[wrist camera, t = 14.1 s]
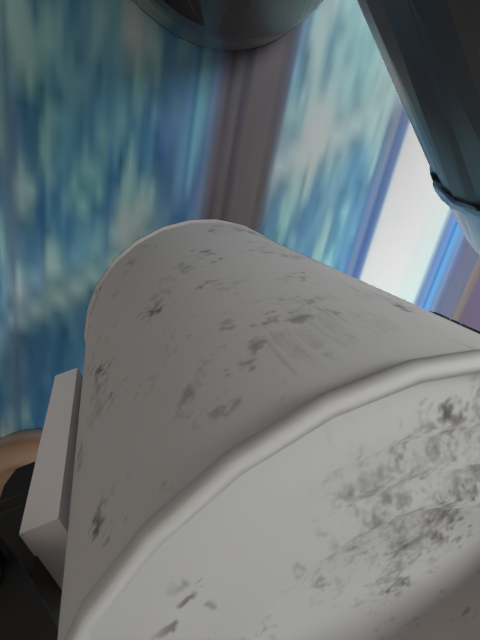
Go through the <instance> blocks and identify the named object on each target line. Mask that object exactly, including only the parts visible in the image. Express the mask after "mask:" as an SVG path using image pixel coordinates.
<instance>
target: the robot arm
mask: <svg viewBox="0 0 480 640" xmlns="http://www.w3.org/2000/svg"><path fill="white" fill-rule="evenodd" d="M134 1H135V2H136V4H137V5H138V6H139V7H140V8H141V9H142V10H143V11H144V12H146V13H147V14H148V15H149V16H150V17H151V18H152V19H154V20H155V21H156V22H157V23H159V24H160V25H161V26H163V27H164V28H166V29H167V30H168V31H170V32H172V33H173V34H175V35H177V36H179V37H181V38H183V39H185V40H187V41H189V42H191V43H194V44H196V45H200V46H203V47H206V48H211V49H216V50H225V51H238V50H247V49H252V48H256V47H259V46H262V45H265V44H268V43H270V42H272V41H274V40H276V39H278V38H279V37H281V36H283V35H284V34H286V33H287V32H288V31H290V30H291V29H293V28H294V27H295V26H297V25H298V24H299V23H301V22H302V21H303V20H305V19H306V18H307V17H308V16H309V15H310V14H311V13H312V12H313V11H314V10H315V9H316V8H317V7H318V6H319V5H320V4H321V3H322V1H323V0H134ZM357 1H358V4H359V6H360V8H361V10H362V13H363V15H364V17H365V20H366V22H367V24H368V26H369V29H370V31H371V33H372V35H373V38H374V40H375V42H376V45H377V47H378V49H379V51H380V54H381V56H382V58H383V60H384V63H385V65H386V67H387V70H388V72H389V74H390V76H391V79H392V81H393V83H394V85H395V88H396V90H397V92H398V95H399V97H400V99H401V101H402V104H403V106H404V108H405V110H406V113H407V115H408V117H409V120H410V122H411V124H412V126H413V129H414V131H415V133H416V136H417V138H418V140H419V142H420V145H421V147H422V149H423V151H424V154H425V156H426V158H427V161H428V163H429V165H430V175H431V177H432V180H433V187H434V189H435V191H436V193H437V194H438V196H439V197H440V198H441V200H442V201H444V202H445V203H446V204H447V205H448V206H449V207H450V209H451V211H452V213H453V215H454V216H455V218H456V220H457V222H458V224H459V226H460V228H461V230H462V232H463V234H464V236H465V237H466V239H467V241H468V242H469V243H470V245H471V246H472V247H473V249H474V250H475V251H476V252H477V253H478V254H479V255H480V0H357ZM429 312H431V311H429ZM432 313H434V314H436V315H438V316H441V317H443V318H445V319H447V320H449V321H452V322H454V323H456V324H458V325H461V324H460V323H459V322H457V321H454V320H450V319H449V318H448V317H445V316H443V315H441V314H438V313H436V312H432ZM461 326H463V327H465V328H467V329H469V330H472V331H474V332H476V333H478V334H480V332H479V331H477V330H475V329H472V328H470V327H468V326H465V325H463V324H462V325H461ZM82 380H83V378H82V376H81V374H80V372H79V370H78V368H75V369H72V370H69V371H67V372H64V373H61V374H58V375H55V379H54V383H53V388H52V392H51V396H50V401H49V405H48V409H47V414H46V418H45V423H44V427H43V431H42V436H41V440H40V445H39V449H38V453H37V458H36V461H35V462H32V463H30V464H27V465H25V466H22V467H20V468H17V469H16V470H15V471H14V472H13V474H12V475H11V476H10V478H9V479H8V481H7V482H6V483H5V485H4V487H3V490H2V493H1V497H0V640H57V638H58V627H59V617H60V607H61V596H62V586H63V576H64V565H65V555H66V545H67V534H68V524H69V514H70V503H71V493H72V483H73V472H74V462H75V452H76V441H77V431H78V421H79V410H80V400H81V390H82Z"/></svg>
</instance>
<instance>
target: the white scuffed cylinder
mask: <svg viewBox="0 0 480 640" xmlns="http://www.w3.org/2000/svg"><path fill="white" fill-rule="evenodd" d="M84 340H85V347H86V349H85V359H84V369H83V380H82V390H81V400H80V410H79V421H78V431H77V441H76V452H75V462H74V472H73V483H72V493H71V503H70V514H69V524H68V534H67V545H66V555H65V565H64V576H63V586H62V596H61V607H60V617H59V627H58V638H57V640H480V334H478V333H476V332H474V331H472V330H469V329H467V328H465V327H463V326H461V325H458V324H456V323H454V322H452V321H449V320H447V319H445V318H443V317H441V316H438V315H436V314H434V313H432V312H429V311H427V310H425V309H423V308H420V307H418V306H416V305H414V304H412V303H409V302H407V301H405V300H403V299H400V298H398V297H396V296H394V295H392V294H389V293H387V292H385V291H383V290H380V289H378V288H376V287H374V286H371V285H369V284H367V283H365V282H363V281H360V280H358V279H356V278H354V277H351V276H349V275H347V274H345V273H343V272H340V271H338V270H336V269H334V268H331V267H329V266H327V265H325V264H322V263H320V262H318V261H316V260H314V259H311V258H309V257H307V256H305V255H302V254H300V253H298V252H296V251H293V250H291V249H289V248H287V247H285V246H282V245H280V244H278V243H276V242H273V241H271V240H270V239H268V238H267V237H266V236H264V235H262V234H260V233H258V232H256V231H254V230H252V229H250V228H248V227H246V226H244V225H241V224H236V223H232V222H227V221H222V220H218V219H207V220H187V221H183V222H179V223H176V224H172V225H168V226H164V227H161V228H159V229H157V230H155V231H153V232H151V233H150V234H148V235H146V236H144V237H142V238H140V239H138V240H136V241H135V242H134V243H133V244H132V245H130V246H129V247H128V248H127V249H126V250H125V251H124V252H122V253H121V254H120V255H119V256H118V257H117V258H115V259H114V261H113V262H112V263H111V265H110V266H109V268H108V269H107V270H106V272H105V273H104V275H103V276H102V277H101V279H100V280H99V282H98V283H97V286H96V288H95V291H94V293H93V296H92V298H91V301H90V303H89V306H88V308H87V316H86V324H85V332H84Z"/></svg>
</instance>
